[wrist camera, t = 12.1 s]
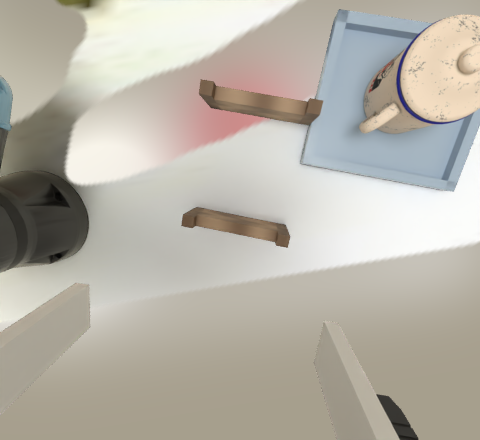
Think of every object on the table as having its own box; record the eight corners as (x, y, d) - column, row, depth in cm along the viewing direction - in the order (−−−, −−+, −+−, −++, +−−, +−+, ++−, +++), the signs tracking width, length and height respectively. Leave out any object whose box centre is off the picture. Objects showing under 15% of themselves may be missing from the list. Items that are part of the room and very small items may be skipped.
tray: (299, 163, 34) (302, 163, 32) (333, 19, 30) (338, 9, 28) (442, 190, 33) (453, 191, 31) (497, 45, 29) (514, 35, 27)
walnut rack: (195, 216, 37) (181, 225, 31) (212, 96, 33) (200, 79, 27) (283, 234, 36) (287, 247, 30) (311, 113, 32) (323, 100, 26)
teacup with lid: (412, 42, 29) (510, -41, 17) (449, 105, 30) (565, 65, 18) (327, 108, 31) (365, 72, 20) (364, 164, 32) (421, 160, 21)
